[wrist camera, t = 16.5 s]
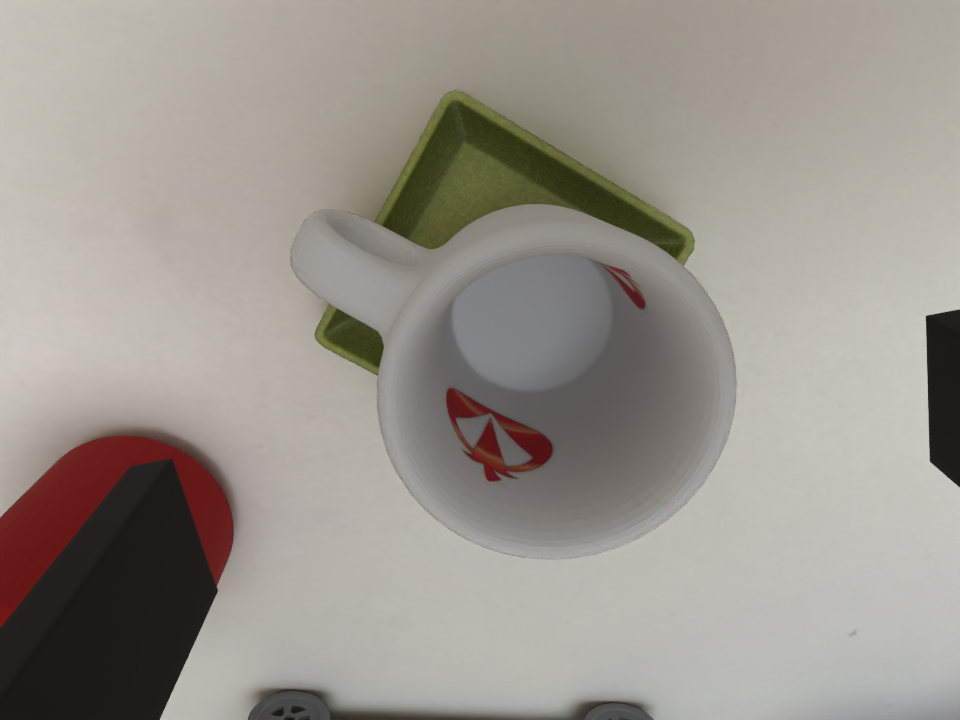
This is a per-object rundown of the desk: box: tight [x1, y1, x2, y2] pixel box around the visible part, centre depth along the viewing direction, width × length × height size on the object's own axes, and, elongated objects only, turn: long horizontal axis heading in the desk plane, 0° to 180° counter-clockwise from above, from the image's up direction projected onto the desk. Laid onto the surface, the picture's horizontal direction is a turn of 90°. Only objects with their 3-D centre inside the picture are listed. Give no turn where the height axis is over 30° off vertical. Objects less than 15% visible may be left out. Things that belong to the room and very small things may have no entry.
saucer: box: [315, 90, 695, 375], centre depth 27 cm, size 9×9×2 cm
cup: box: [290, 204, 737, 559], centre depth 23 cm, size 11×8×8 cm
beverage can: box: [0, 436, 233, 627], centre depth 25 cm, size 7×7×12 cm
